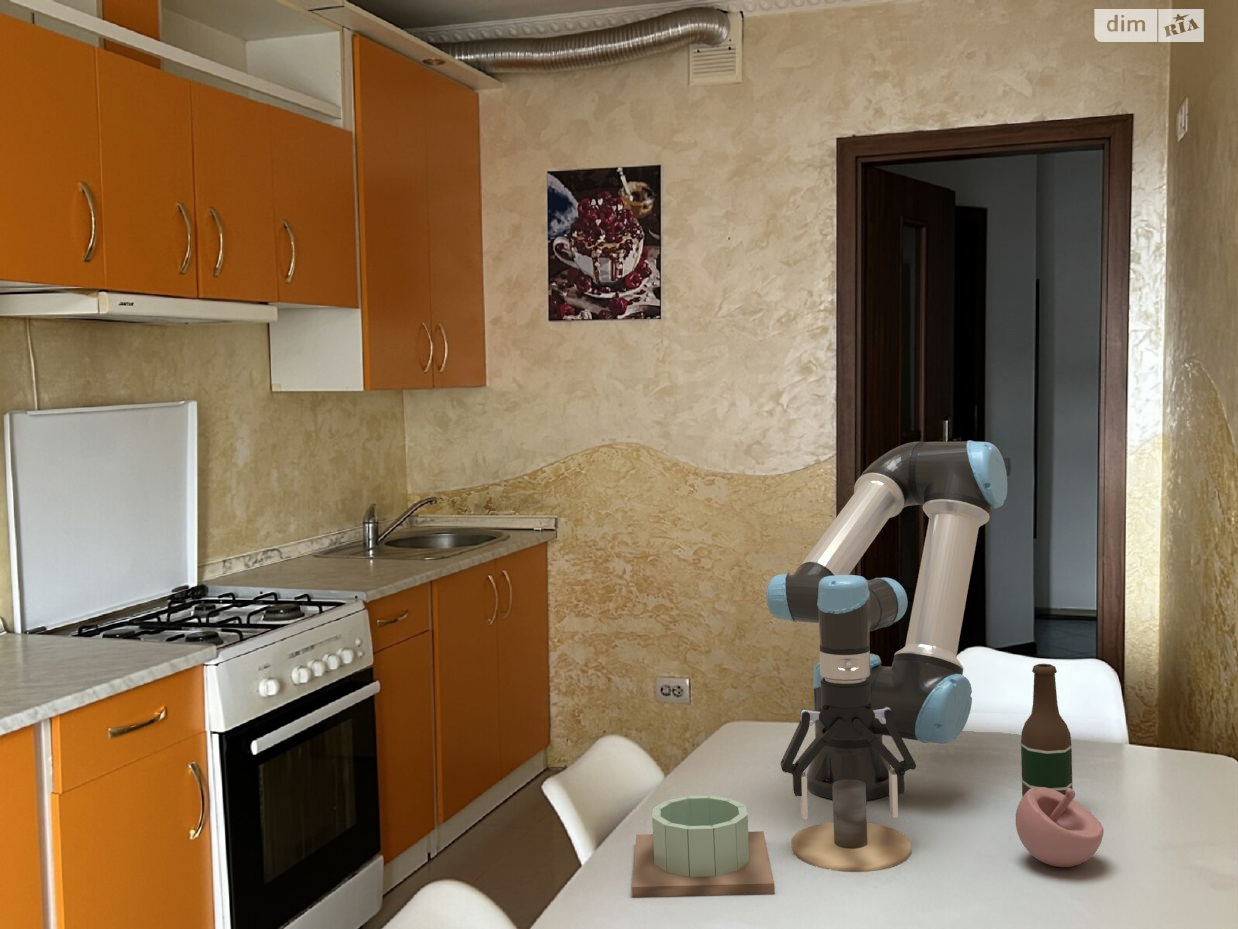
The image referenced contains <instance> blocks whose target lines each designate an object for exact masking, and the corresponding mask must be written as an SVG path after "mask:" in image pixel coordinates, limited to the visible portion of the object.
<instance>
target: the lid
mask: <svg viewBox="0 0 1238 929" xmlns="http://www.w3.org/2000/svg"><path fill="white" fill-rule="evenodd" d="M832 791H833V799H832V812H833V813H832V814H833V821H829V822H823V823H819V824H818V823H816V824H813V825H811V826H807V827H804V828H802V829H801V830H798V831H797V832H796V833H795V834H794V835H793V836H792V838H791V852H792V854H793V855H794V856H795V855H796V856H797V857H796V856H795V857H796V858H798V859H799V860H800V859H801V860H800V861H803V863H806V862H807V863H806V864H808V865H811V866H813V867H816V866H817V867H816V868H820V869H824V870H829V869H831V870H830V871H836V872H843V873H844V872H847V873H848V872H849V873H856V872H857V873H863V872H865V873H867V872H876V871H882V870H888V869H891V868H894V867H896V866H899V865H901V864H903V863H904V862H906V861H907V860H908V859H909V858H910V857H911V855H912V842H911V840H910V838H909V837H908V836H906V835H905V834H904V833H903V832H900V831H899V830H898V829H894V828H892V827H889V826H886V825H882V824H878V823H872V822H868V821H867V820H868V819H867V816H868V815H867V800H866V785H865V783H863V782H861V781H858V780H839V781H835V782H834V783H833V784H832Z"/></svg>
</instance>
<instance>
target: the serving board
mask: <svg viewBox="0 0 1238 929" xmlns="http://www.w3.org/2000/svg"><path fill="white" fill-rule="evenodd" d="M765 837H766V836H765V832H764V830H762V831H760V830H759V831H756V830H755V831H748V842H749V862H748V863H747V864H745V865H744V866H743V867H741V868H740V869H739V870H737V871H734V872H730V873H726V874H722V875H719V876H706V877H690V876H689V877H687V876H683V875H678V874H673V873H668V872H666V871H664V870H663V869H661V868H660V867H658V866H657V865H655V864H654V845H653V833H652V834H651V833H649V834H648V833H647V834H636V836H635V846H634V847H635V848H634V849H635V850H634V861H633V871H632V872H633V874H632V884H631V889H632V898H655V897H656V898H657V897H658V898H662V897H696V896H697V897H699V896H704V897H705V896H740V895H743V896H745V895H775V894H776V891H775V890H776V889H775V888H776V887H775V880H774V875H773V871H772V870H773V869H772V866H771V861H770V857H769V850H768V846H767V840H766V838H765Z"/></svg>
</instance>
